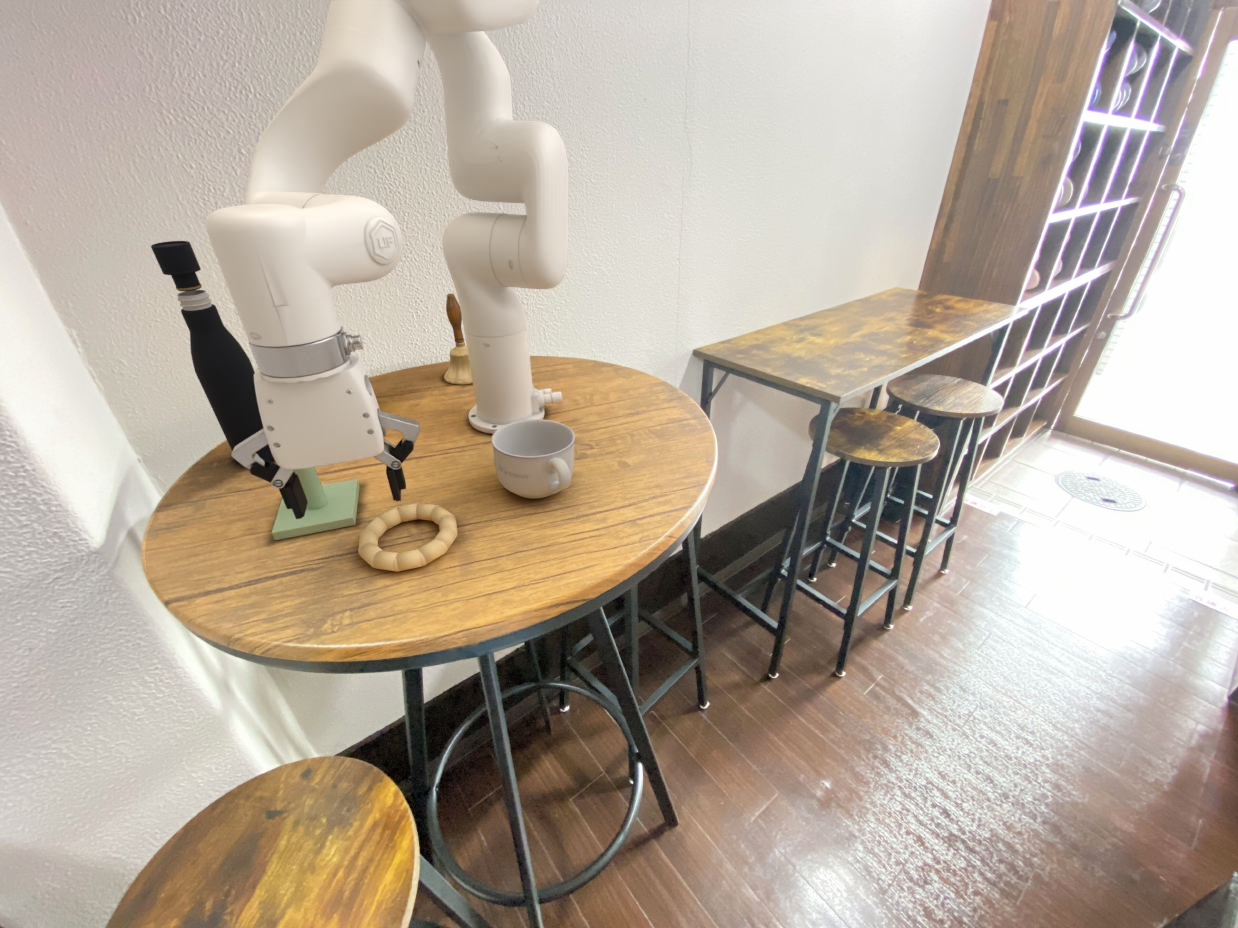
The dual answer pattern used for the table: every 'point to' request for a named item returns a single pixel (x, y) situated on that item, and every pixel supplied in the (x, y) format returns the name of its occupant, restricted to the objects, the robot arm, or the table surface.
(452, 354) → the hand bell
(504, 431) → the teacup
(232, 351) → the black insulated water bottle
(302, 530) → the post
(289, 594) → the table surface
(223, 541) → the table surface
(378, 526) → the ring
